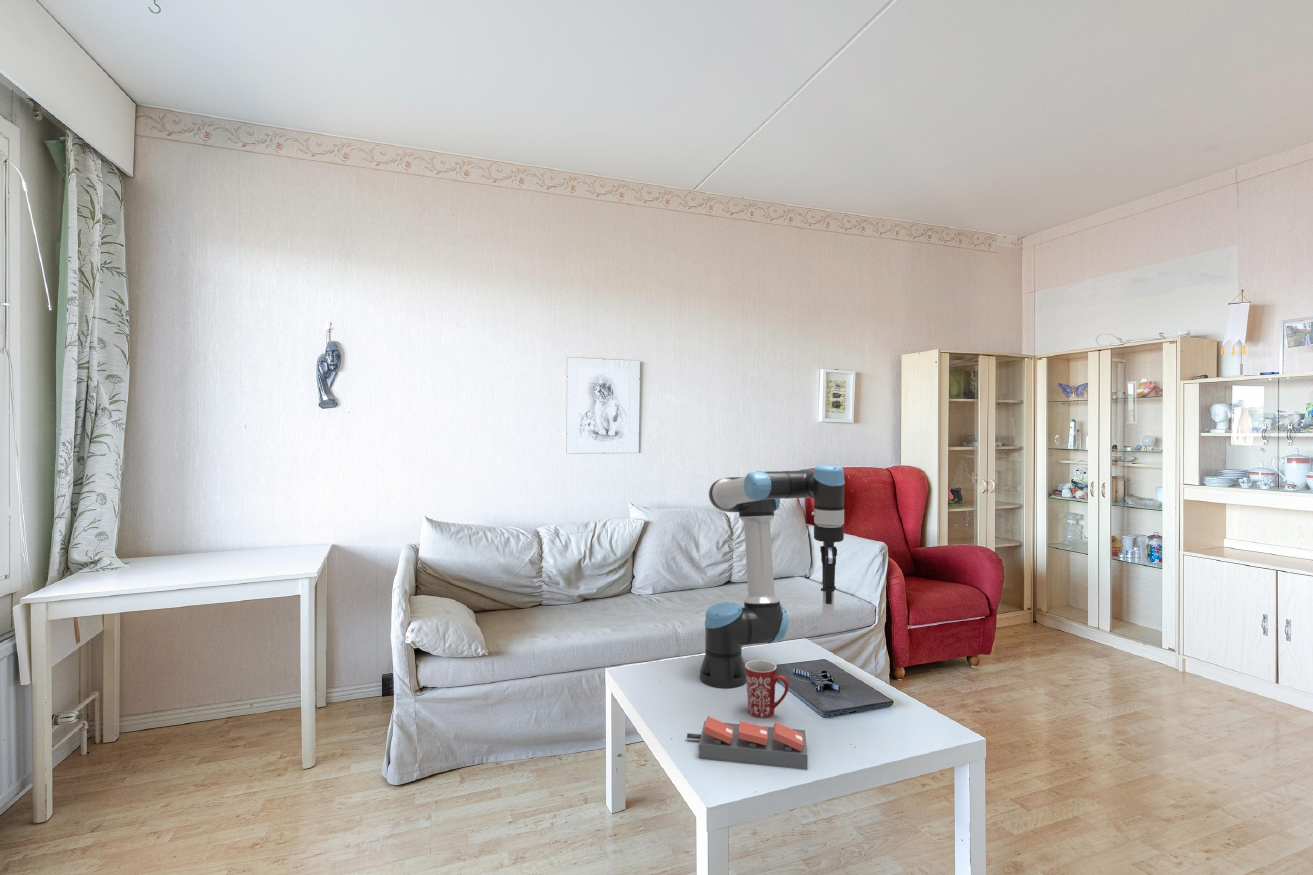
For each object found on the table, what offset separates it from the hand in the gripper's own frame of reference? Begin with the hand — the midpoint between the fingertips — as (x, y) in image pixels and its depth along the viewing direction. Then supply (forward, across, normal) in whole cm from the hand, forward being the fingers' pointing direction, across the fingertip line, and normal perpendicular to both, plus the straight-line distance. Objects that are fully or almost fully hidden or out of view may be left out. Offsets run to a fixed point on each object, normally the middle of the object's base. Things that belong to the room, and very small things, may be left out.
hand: (828, 614), depth 163 cm
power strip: (+32, +11, -21) cm, 40 cm away
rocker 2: (+27, +13, -10) cm, 31 cm away
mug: (+33, -10, -16) cm, 38 cm away
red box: (+27, +13, -19) cm, 35 cm away
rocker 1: (+27, +13, -27) cm, 40 cm away
